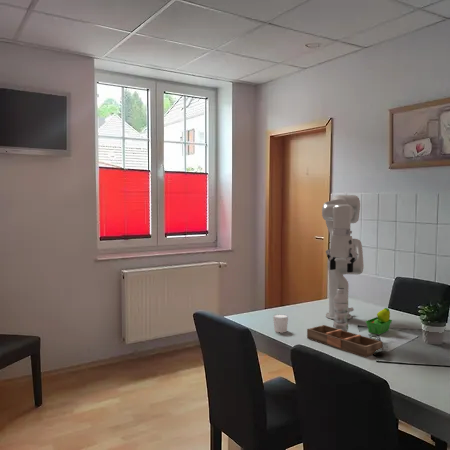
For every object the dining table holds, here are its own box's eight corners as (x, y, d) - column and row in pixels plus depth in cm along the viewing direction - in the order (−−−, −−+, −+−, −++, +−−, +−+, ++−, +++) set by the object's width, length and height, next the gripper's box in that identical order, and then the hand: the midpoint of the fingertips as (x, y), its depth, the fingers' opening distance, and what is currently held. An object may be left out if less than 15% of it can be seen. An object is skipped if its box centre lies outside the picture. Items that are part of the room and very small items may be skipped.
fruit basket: (376, 327, 215) (377, 303, 215) (395, 331, 209) (395, 306, 208) (364, 332, 207) (365, 307, 207) (383, 336, 201) (383, 311, 200)
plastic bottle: (345, 335, 203) (346, 290, 202) (331, 333, 206) (331, 288, 205) (350, 331, 208) (350, 288, 207) (335, 329, 212) (336, 286, 211)
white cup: (271, 329, 213) (271, 314, 213) (286, 328, 214) (286, 313, 213) (274, 333, 206) (274, 318, 206) (289, 333, 207) (289, 317, 206)
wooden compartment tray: (323, 333, 205) (323, 323, 205) (382, 351, 181) (382, 340, 181) (306, 338, 199) (306, 328, 199) (364, 357, 174) (365, 346, 174)
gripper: (363, 233, 200) (362, 272, 201) (332, 231, 214) (331, 268, 215) (352, 234, 195) (351, 274, 196) (321, 232, 209) (320, 269, 210)
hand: (341, 270), depth 205 cm, fingers open, 9 cm apart
